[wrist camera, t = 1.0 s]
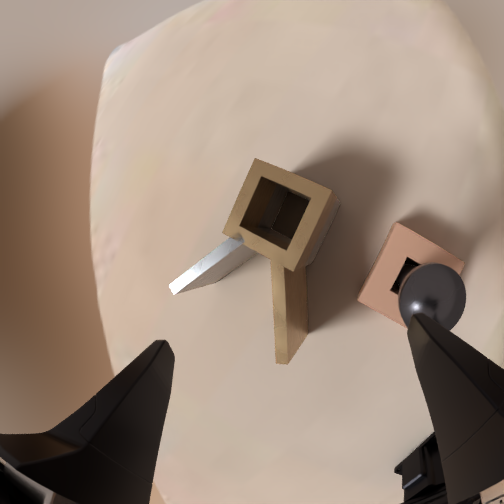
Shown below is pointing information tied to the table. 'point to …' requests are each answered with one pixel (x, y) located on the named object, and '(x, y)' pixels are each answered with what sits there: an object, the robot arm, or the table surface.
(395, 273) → the pin holder
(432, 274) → the hinge pin
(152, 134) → the table surface
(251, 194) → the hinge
